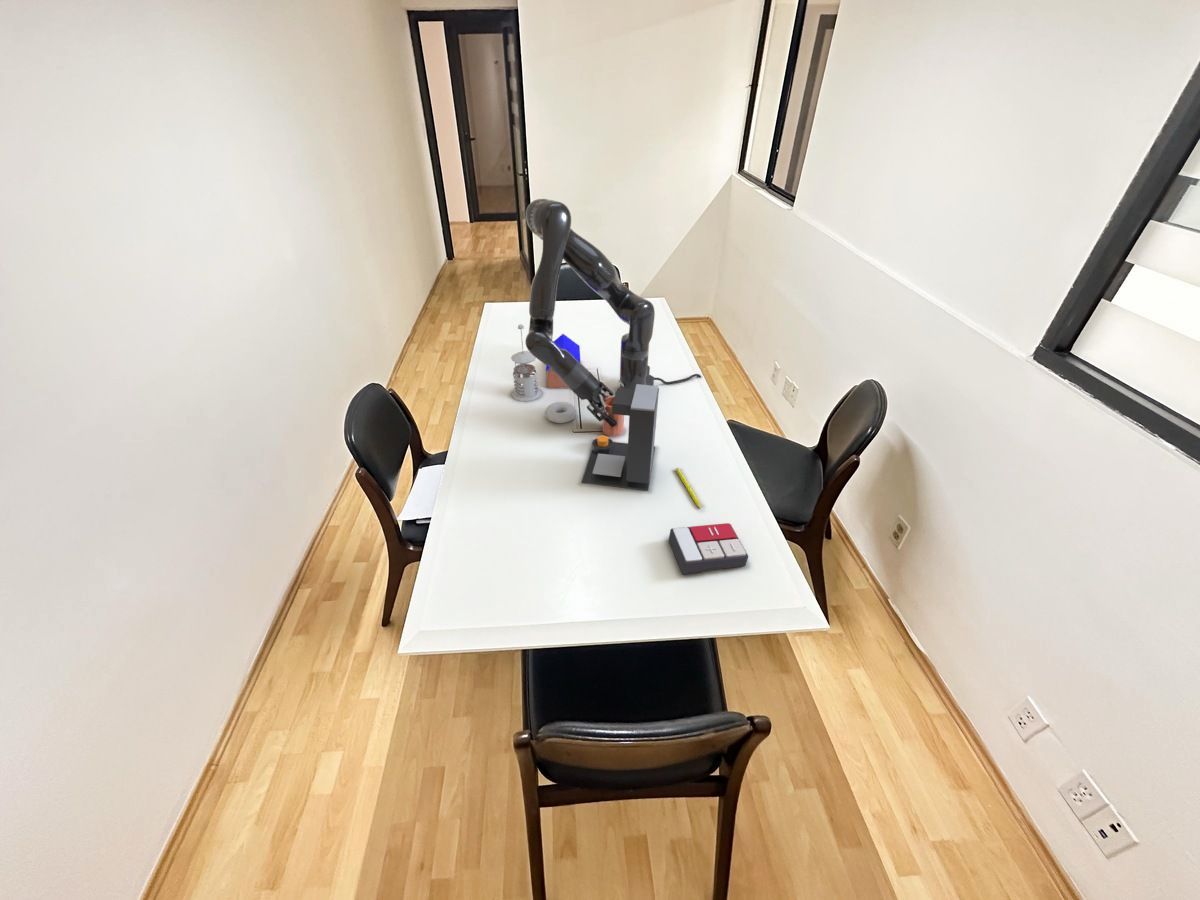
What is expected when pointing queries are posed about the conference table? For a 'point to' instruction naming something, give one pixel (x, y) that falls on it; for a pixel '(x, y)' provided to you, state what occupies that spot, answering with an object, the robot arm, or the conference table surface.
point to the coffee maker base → (606, 480)
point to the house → (573, 349)
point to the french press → (524, 375)
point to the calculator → (707, 548)
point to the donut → (563, 407)
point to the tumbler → (619, 427)
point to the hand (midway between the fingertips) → (617, 417)
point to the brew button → (602, 441)
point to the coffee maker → (634, 434)
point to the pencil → (688, 488)
